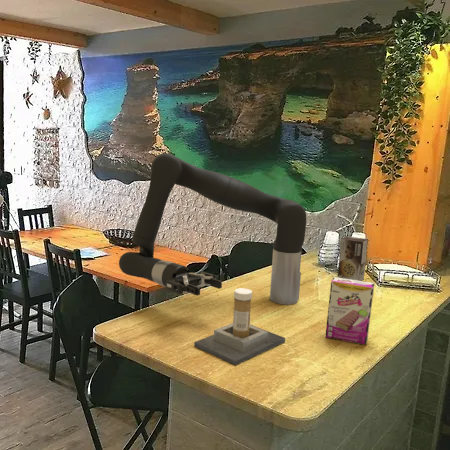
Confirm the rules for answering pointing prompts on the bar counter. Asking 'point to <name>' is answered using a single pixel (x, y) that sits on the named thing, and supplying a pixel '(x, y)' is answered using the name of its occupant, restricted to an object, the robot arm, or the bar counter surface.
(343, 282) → the candy bar box
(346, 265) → the cookie box
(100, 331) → the bar counter surface
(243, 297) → the sprinkles bottle
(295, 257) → the robot arm
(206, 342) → the collar socket
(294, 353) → the bar counter surface
